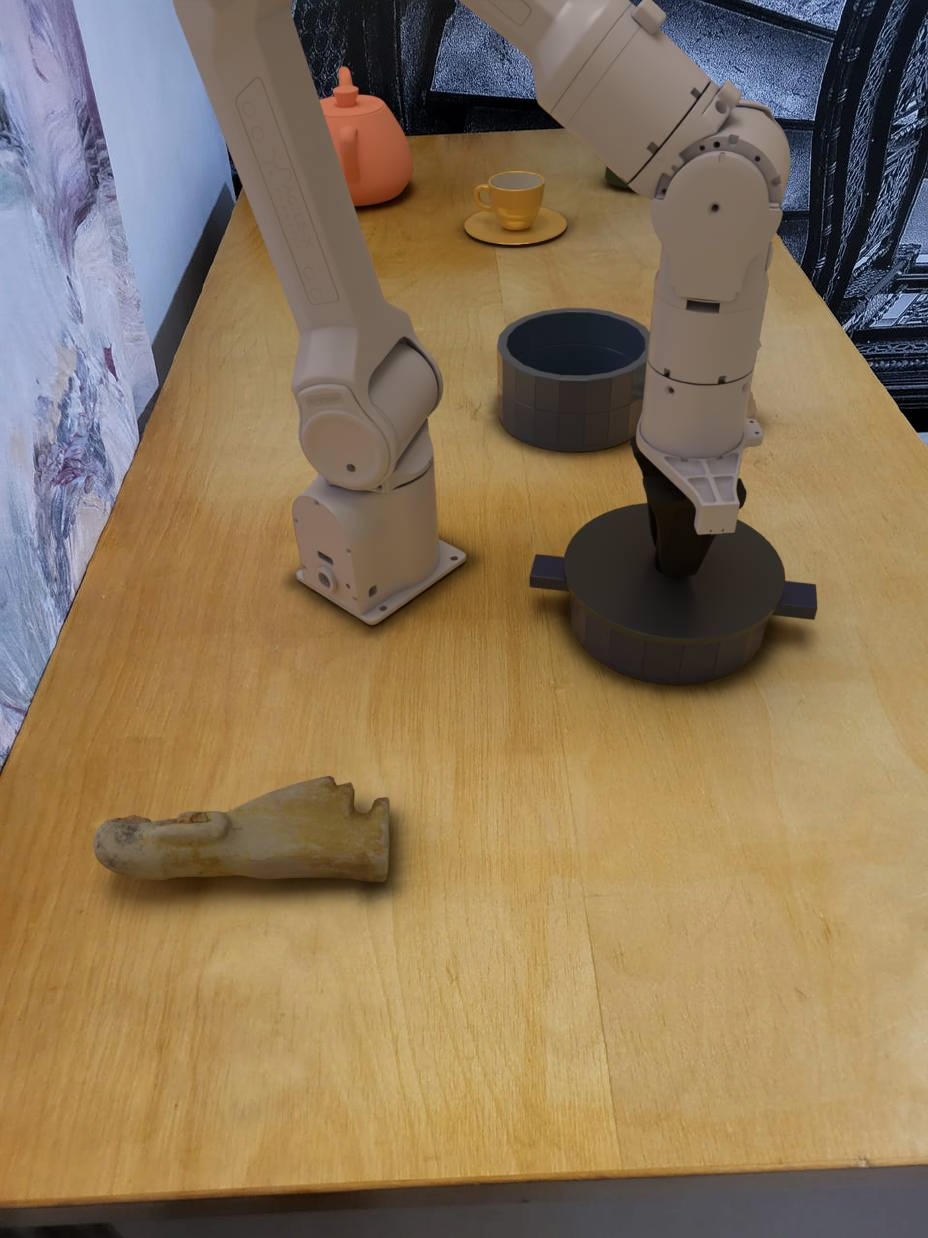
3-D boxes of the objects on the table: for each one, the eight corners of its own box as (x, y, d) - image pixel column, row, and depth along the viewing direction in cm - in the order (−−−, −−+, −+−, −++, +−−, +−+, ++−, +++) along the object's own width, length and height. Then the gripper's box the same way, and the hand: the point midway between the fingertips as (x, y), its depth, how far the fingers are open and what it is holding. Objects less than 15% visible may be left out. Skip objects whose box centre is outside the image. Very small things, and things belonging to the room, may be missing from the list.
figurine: (389, 763, 55) (104, 762, 53) (395, 810, 50) (79, 810, 48) (385, 848, 56) (107, 850, 54) (390, 902, 51) (84, 906, 49)
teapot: (300, 166, 137) (286, 66, 129) (410, 159, 138) (403, 59, 130) (294, 225, 121) (278, 115, 113) (419, 217, 122) (412, 107, 113)
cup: (574, 212, 121) (576, 165, 118) (556, 250, 113) (558, 201, 109) (478, 206, 124) (476, 160, 120) (453, 244, 115) (451, 195, 112)
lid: (784, 666, 58) (799, 606, 55) (547, 637, 61) (549, 578, 58) (781, 525, 68) (793, 468, 65) (578, 505, 71) (581, 449, 68)
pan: (810, 703, 60) (823, 656, 58) (515, 665, 64) (515, 619, 61) (804, 572, 69) (815, 527, 67) (546, 545, 73) (547, 500, 70)
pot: (586, 470, 80) (591, 397, 76) (467, 417, 86) (465, 347, 82) (677, 406, 87) (685, 335, 82) (560, 361, 93) (562, 294, 89)
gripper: (815, 425, 49) (768, 631, 58) (740, 298, 60) (711, 488, 69) (670, 433, 49) (646, 638, 58) (622, 304, 60) (608, 494, 69)
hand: (674, 557), depth 63 cm, fingers closed on lid, 2 cm apart
